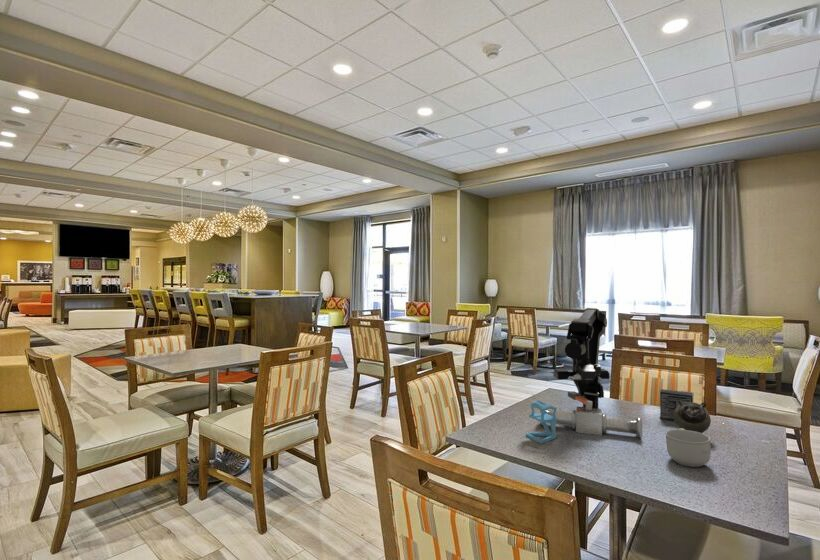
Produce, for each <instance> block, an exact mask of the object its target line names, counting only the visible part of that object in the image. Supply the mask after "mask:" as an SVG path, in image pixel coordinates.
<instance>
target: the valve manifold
mask: <svg viewBox="0 0 820 560" xmlns="http://www.w3.org/2000/svg"><path fill="white" fill-rule="evenodd" d="M553 411H554V410H553V409H547V410H546V413H547V414H549V415H551V416H552V414H553ZM539 413H541V411H540V410H539ZM555 417H556V418H558V421H557V422H556V425H563V426H570V427H571V429H572V430H575V433H580V434H587V435H595V436H601V437H602V435H603V434H607V431H609V432H616V433H617V432H618V433H625V434H633V435H635V437H636V438H637V439H642V438H643V421H642V420H643V419H642V418H641V417H638V416H637V417H636V416H635V419H629V418H628V419H626V418H620V417H619V418H618V417H611V416H610V417H609V416H607V414H606V413H603V412H602V409H601V408H599V409H595V408H592V410H586V407H583V406H576V409H572V410H571V412H568V411H561V410H560V411H558V410H556V412H555ZM539 425H540V426H543V424H542V423H541V422H539Z"/></svg>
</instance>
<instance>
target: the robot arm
mask: <svg viewBox="0 0 820 560" xmlns="http://www.w3.org/2000/svg"><path fill="white" fill-rule="evenodd" d="M607 326H608V319H607V316H606V315H605V314H604V313H603V312H601V311H600V309H599V308H595V307H586V308H584V312H583V313H582V314H581V315H580V316H579V318H576V319H573V320H571V321H570V323H569V325H568V329H567V333H566V334H567V335H566V340H568V341H569V340H570V342H569V343H567V344H566V345H565V347H564V353H565V355H566V356H567V357H568V358H570V359H571V360H572V367H571V371H570V370H566V369H565V368H555V369H554V370H553V371H552V373H553V375H552V376H553V377H554V378H555V379H557V380H568V379H570V380H572V381H573V383H574V385H575V388H576V389H577V393H578V394H580V395H581V396H582V397H584V398H586V399H588V400H589V401H592V402H593V406H592V408H595V409H600V408H599V399H602V398H604V397H605V392H604V387H603V384H602V382H601V380H609V379H610V376H611V374H610V371H608V370H607V369H605V368H602V367H601V365H600V364H599V363H598V362H599V354H600V353H599V352H600V342H601V337H602V336H603V335H604V333H605V331H606V328H607ZM582 407H586V405H585V404H583V403H582Z"/></svg>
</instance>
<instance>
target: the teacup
mask: <svg viewBox="0 0 820 560" xmlns="http://www.w3.org/2000/svg"><path fill="white" fill-rule="evenodd" d="M664 436H665V441H666V442H665V443H666V451H667V453H668V455H669V457H670V458H671V459H672V460H674V462H676V463H677V464H679V465H681V466H685V467H690V468H691V467H692V468H700V467H702V466H704V465H706V464H707V463H709V461H710V460H711V454H712V453H711V450H712V449H711V440H712V439H711V437H710V436H709V435H707V434H705V433H704V432H703V433H699V432H696V431H690V430H685V429H683V428H680V427H679V428H678V429H669V430H667V431H666V432H665V435H664Z"/></svg>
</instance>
